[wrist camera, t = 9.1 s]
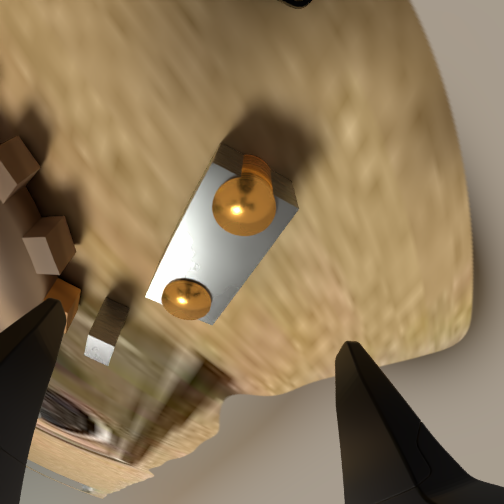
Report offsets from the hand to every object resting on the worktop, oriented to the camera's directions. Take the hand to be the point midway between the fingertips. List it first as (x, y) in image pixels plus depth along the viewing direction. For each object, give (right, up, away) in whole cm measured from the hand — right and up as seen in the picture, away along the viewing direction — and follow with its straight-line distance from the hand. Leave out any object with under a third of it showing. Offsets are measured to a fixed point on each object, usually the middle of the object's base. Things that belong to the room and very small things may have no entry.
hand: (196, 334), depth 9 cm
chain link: (0, +4, +5) cm, 7 cm away
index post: (-7, -1, +9) cm, 12 cm away
